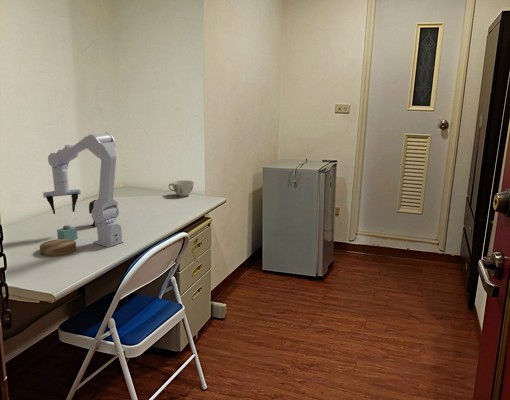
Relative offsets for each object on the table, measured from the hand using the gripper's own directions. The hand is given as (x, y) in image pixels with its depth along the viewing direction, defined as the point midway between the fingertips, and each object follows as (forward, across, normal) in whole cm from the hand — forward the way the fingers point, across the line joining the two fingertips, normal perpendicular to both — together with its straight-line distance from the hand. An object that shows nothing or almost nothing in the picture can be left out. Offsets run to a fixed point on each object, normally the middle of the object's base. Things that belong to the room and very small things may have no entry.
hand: (63, 212), depth 202 cm
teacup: (+10, -66, -51) cm, 84 cm away
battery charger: (+10, -14, -9) cm, 19 cm away
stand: (+10, +4, +21) cm, 23 cm away
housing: (+10, 0, +9) cm, 13 cm away
